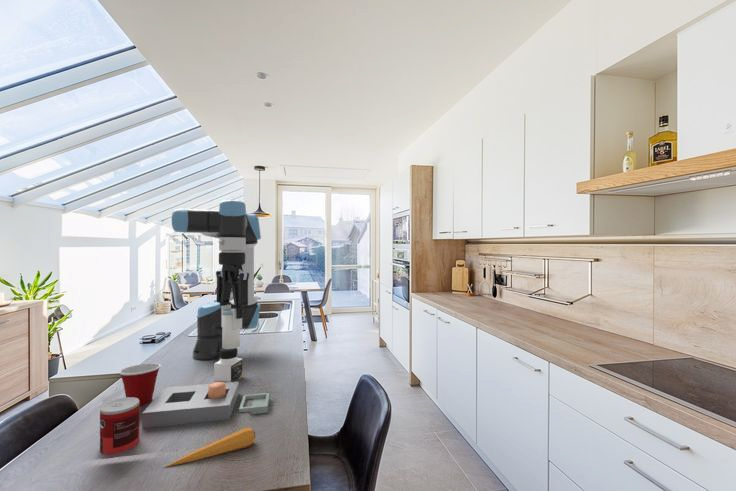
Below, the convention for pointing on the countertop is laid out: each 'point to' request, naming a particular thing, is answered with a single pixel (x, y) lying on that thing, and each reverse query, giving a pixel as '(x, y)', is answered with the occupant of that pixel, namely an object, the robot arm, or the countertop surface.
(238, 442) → the carrot
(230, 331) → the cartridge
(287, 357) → the countertop surface
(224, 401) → the housing
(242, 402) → the tray
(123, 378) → the plastic cup
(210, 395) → the plunger
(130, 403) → the canned food
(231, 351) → the medicine bottle
